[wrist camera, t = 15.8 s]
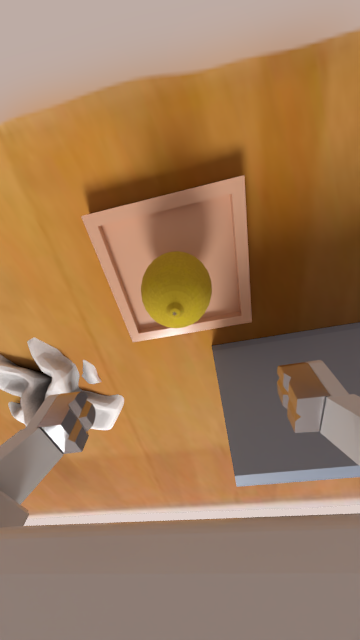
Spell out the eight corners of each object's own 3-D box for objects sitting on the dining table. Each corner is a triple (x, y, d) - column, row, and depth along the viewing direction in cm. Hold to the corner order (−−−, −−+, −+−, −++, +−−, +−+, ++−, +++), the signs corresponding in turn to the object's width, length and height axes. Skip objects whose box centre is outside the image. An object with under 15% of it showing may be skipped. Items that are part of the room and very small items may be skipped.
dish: (238, 176, 17) (244, 175, 16) (247, 313, 24) (251, 322, 23) (89, 213, 19) (81, 216, 18) (136, 332, 26) (132, 342, 24)
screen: (431, 310, 24) (686, 437, 12) (416, 346, 26) (611, 480, 14) (211, 345, 27) (234, 475, 15) (216, 374, 29) (240, 505, 17)
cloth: (138, 423, 36) (131, 463, 31) (35, 433, 38) (11, 473, 32) (85, 304, 24) (58, 336, 19) (-59, 327, 26) (-119, 362, 21)
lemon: (144, 243, 19) (123, 274, 13) (206, 239, 19) (219, 269, 12) (152, 299, 22) (139, 349, 15) (207, 296, 22) (217, 346, 15)
